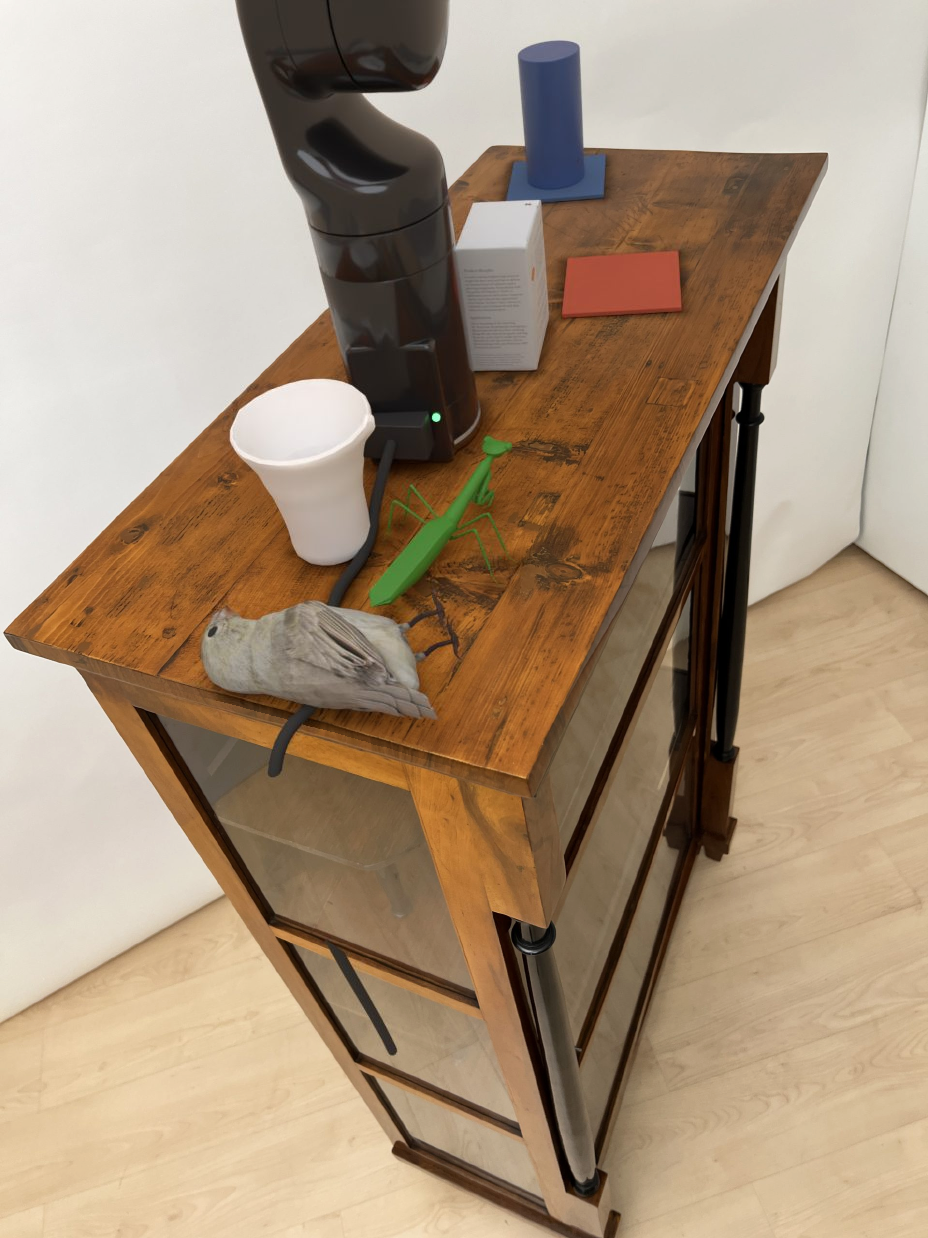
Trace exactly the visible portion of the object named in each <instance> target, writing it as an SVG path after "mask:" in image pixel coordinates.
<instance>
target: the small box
mask: <svg viewBox="0 0 928 1238" xmlns="http://www.w3.org/2000/svg"><path fill="white" fill-rule="evenodd" d="M470 206H471V207H470V209H469V212H468V214H467V217H466V220H465V222H464V223H463V226H462V229H461V231H460V232H461V233H460V235H459V237H458V240H457V242H456V251H457V258H458V265H459V272H460V279H461V286H462V293H463V300H464V307H465V314H466V321H467V328H468V335H469V342H470V349H471V356H472V363H473V370H474V372H487V371H488V372H491V371H536V370H538V366H539V363H540V357H541V353H542V349H543V345H544V340H545V336H546V331H547V328H548V324H549V320H550V310H549V309H550V308H549V294H548V293H549V291H548V278H547V264H546V263H547V262H546V250H545V239H544V224H543V211H542V209H543V208H542V203H541V201H540V200H524V201H506V200H505V201H482V202H481V201H479V202H472V204H471V205H470Z"/></svg>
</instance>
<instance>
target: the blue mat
mask: <svg viewBox="0 0 928 1238" xmlns="http://www.w3.org/2000/svg"><path fill="white" fill-rule="evenodd" d="M606 165H607V154H606V153H603V154H591V155H584V170H585V175H584V177H583V179H582V180H581V181H579V182H578V183H576V184H574V185H571V186H568V187H565V188H559V189H540V188H536V187H533V186H532V185H530V184H529V182H528V178H527V166H526V160H522V161H514V162H513V166H512V172H511V174H510V180H509V184H508V189H507V194H506V199H505V201H524V200H540V201H541V204H542V203H543V204H544V203H556V202H567V201H582V200H593V199H594V200H595V199H604V198H605V184H606V183H605V182H606V180H605V179H606V167H607V166H606Z"/></svg>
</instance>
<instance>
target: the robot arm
mask: <svg viewBox="0 0 928 1238" xmlns="http://www.w3.org/2000/svg"><path fill="white" fill-rule="evenodd" d="M450 2H451V1H450V0H234V4H235V9H236V10H235V11H236V15H237V19H238V23H239V28H240V32H241V36H242V40H243V44H244V47H245V51H246V54H247V58H248V61H249V64H250V68H251V70H252V73H253V77H254V80H255V83H256V86H257V89H258V93H259V96H260V98H261V101H262V104H263V108H264V111H265V114H266V117H267V120H268V124H269V127H270V130H271V133H272V136H273V140H274V143H275V146H276V150H277V152H278V156H279V159H280V163H281V166H282V168H283V170H284V174H285V176H286V177H287V180H288V182H289V183H290V185H291V186H292V189H293V190H294V191H295V193H296V194H297V195H298V197H299V199H300V201H301V204H302V207H303V210H304V211H303V212H304V215H305V218H306V222H307V225H308V230H309V234H310V238H311V241H312V245H313V249H314V253H315V256H316V261H317V266H318V269H319V273H320V277H321V281H322V286H323V289H324V293H325V297H326V300H327V304H328V308H329V312H330V316H331V320H332V324H333V328H334V331H335V336H336V340H337V344H338V348H339V350H340V351H339V353H340V355H341V359H342V364H343V367H344V371H345V372H344V373H345V375H346V379H347V384H349V385H352V386H353V387H355V388H356V389H357V390H358V391H360V392H361V393H362V394H364V395H365V396H366V398H367V401H368V403H369V405H370V408H371V414H372V415H373V417H374V422H375V429H374V431H373V432H372V433H371V435H370V436H369V437H368V439H367V440H366V442H365V445H364V452H363V456H364V459H365V458H366V459H367V458H368V459H370V461H371V463H372V464H379V465H378V468H377V472H376V475H375V479H374V482H373V487H372V489H371V490H372V491H371V495H370V500H369V506H368V511H369V520H370V528H369V532H368V536H367V539H366V541H365V543H364V544H363V546H362V547H361V548H360V549H359V551H358V553H357V554H356V556H355V557H354V558H352V560H351V562H350V563H349V565H348V566H347V567H346V569H345V570H344V571H343V572H342V574H341V575H340V577H339V578H338V580H337V581H336V582H335V584H334V585H333V588H332V590H331V592H330V594H329V597H328V599H327V603H326V605H327V606H332V607H337V608H340V605H341V603H342V600H343V597H344V595H345V593H346V591H347V589H348V588H349V586H350V585H351V583H352V581H353V580H354V579H355V577H356V576H357V574H358V573H359V572H360V571H361V569H362V568H363V566H364V565H365V563H366V562H367V560H368V559H369V556H370V555H371V553H372V550H373V547H374V545H375V542H376V539H377V536H378V532H379V525H380V517H381V509H382V502H383V497H384V493H385V489H386V485H387V482H388V477H389V475H390V470H391V467H392V464H399V463H402V464H403V463H404V464H405V463H409V464H410V463H412V464H413V463H432V462H433V463H435V462H437V463H438V462H439V463H440V462H452V461H453V460H454V458H455V454H456V452H457V451H459V450H461V449H462V448H463V447H464V446H466V445H467V444H468V443H469V442H470V441H472V440H473V438H474V437H475V436H476V435H477V433H478V432H479V430H480V428H481V425H482V420H483V416H482V409H481V403H480V401H479V399H478V391H477V384H476V377H475V371H474V370H473V363H472V356H471V349H470V342H469V335H468V328H467V321H466V314H465V307H464V300H463V293H462V286H461V279H460V272H459V265H458V258H457V251H456V245H457V243H456V237H455V236H456V235H455V230H454V222H453V215H452V207H451V202H450V194H449V187H448V180H447V173H446V167H445V162H444V157H443V155H442V152H441V150H440V149H439V148H438V146H437V144H435V142H433V140H432V139H430V138H429V137H427V136H426V135H425V134H422V133H421V132H418V131H417V130H414V129H412V128H410V127H409V126H407V125H403V124H401V123H400V122H398V121H396V120H394V119H393V118H391V117H389V116H388V115H386V114H384V113H383V112H382V111H381V110H379V109H378V108H377V107H376V106H375V105H374V104H373V103H372V102H370V101H369V99H367V97H365V95H364V94H401V93H402V94H403V93H413V92H418V91H422V90H423V89H425V88H427V87H428V86H430V85H431V84H432V83H433V81H434V80H435V78H436V77H437V75H438V73H439V72H440V69H441V67H442V64H443V61H444V57H445V54H446V53H445V52H446V49H447V44H448V36H449V25H450V4H451V3H450ZM319 709H320V707H314V706H311V705H307V704H301V706H300V707H299V708H298V709H297V710H296V711H294V713H293V714H292V715H291V716H290V717H289V719H287V721H286V722H284V725H283V726H282V728H281V730H280V731H279V732H278V734H277V736H276V738H275V740H274V743H273V746H272V749H271V752H270V755H269V761H268V768H267V775H268V777H269V778H276V777H278V776H279V775H280V774H281V773H282V771H283V766H284V760H285V755H286V753H287V749H288V747H289V745H290V743H291V740H292V739H293V737H294V735H295V734H296V733H297V731H298V730H299V729H300V728H301V727H302V726H303V725H304V723H305V722H307V720H308V719H309V718H311V717H312V716H314V714H315V713H316V712H317V711H318V710H319ZM324 942H325V944H326V945H327V948H328V949H329V951H330V954H331V955H332V957H333V959H334V960H335V962H336V964H337V966H338V968H339V969H340V971H341V973H342V974H343V976H344V978H345V979H346V982H347V983H348V984H349V987H351V989H352V991H353V993H354V994H355V996H356V998H357V1000H358V1001H359V1003H360V1004H361V1006H362V1008H363V1009H364V1011H365V1013H366V1015H367V1017H368V1018H369V1020H370V1021H371V1023H372V1025H373V1027H374V1029H375V1031H376V1032H377V1034H378V1036H379V1038H380V1040H381V1041H382V1044H383V1045H384V1048H385V1049H386V1053H388V1055H389V1056H390V1057H391V1056H392V1057H393V1056H396V1055H397V1053H398V1048H397V1045H396V1044H395V1042H394V1041H395V1040H394V1039H393V1038H392V1035H391V1033H390V1031H389V1029H388V1027H387V1025H386V1024H385V1022H384V1020H383V1017H382V1016H381V1014H380V1013H379V1011H378V1009H377V1007H376V1005H375V1003H374V1001H373V1000H372V998H371V997H370V995H369V992H368V991H367V989H366V988H365V986H364V984H363V983H362V981H361V979H360V977H359V975H358V974H357V972H356V970H355V968H354V967H353V965H352V963H351V961H350V960H349V957H348V955H347V954H346V952H345V951H343V950H342V949H340V948H339V947H338V946H336V945H335V944H333V943H332V942H330V941H328V940H327V939H325V938H324Z"/></svg>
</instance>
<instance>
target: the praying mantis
mask: <svg viewBox="0 0 928 1238" xmlns="http://www.w3.org/2000/svg"><path fill="white" fill-rule="evenodd" d="M482 443H483V444H482V445H481V449H482V451H483V453H484V454H485V455H486V456H485V458H484V459H483V460H481V461H480V462H479V463H478V465H477V466H476V468H475V469H474V471H473V472H472V474H471V476H470V477H469V479H468V480H467V481H466V483H465V485H464V486H463V488H462V489H461V491H460V493H459V494H458V495H457V496H456V498H455V499H454V500H453V501H452V502H451V504H450V505H449V507H448V508H447V509H446V511H445V512H444V513H443V515H442V516H439V515H437V513H436V512H435V511H434V510H433V508H432V507H431V506H430V505H429V504H428V502H427V501H426V500H425V499H424V497H423V496H422V495H421V493H420V492H418V490H417V489H416V487H415V486H414V485H413V484H410V485H409V486H408V490H407V497H406V502H405V505H404V504H403V503H402V502H400V501H398V500H396V499H394V500H393V501H392V502H391V505H390V509H389V510H390V512H389V517H388V523H387V530H386V531H387V533H386V537H384V538H382V539H381V540H385V539H386V538H388V537H389V532H390V531H391V525H392V519H393V515H394V514H393V513H394V509H395V504H396V505H398V506H400V507H401V508H402V509H404V521H400V524H402V523H405V522H406V519H407V515H408V513H409V514H410V515H412V517H414V518H415V519H417V520H418V521H420V522H421V523H422V524H423V525H424V526H422V528H421V529H420V530H419V531H418V532H417V534H416V535H415V536H414V537H413V538H412V539H411V541H410V542H409V543H408V544H407V545H406V546H405V547H404V549H403V550H402V551H401V553H400V554H399V555H397V557H396V558H395V559H394V561H393V562H392V563H391V564H390V566H388V568H387V569H386V570H385V572H383V573H382V575H381V576H380V577H379V579H378V580H377V581H376V582H375V584H373V586H372V587H371V588H370V589H369V591H368V597H369V598H368V599H369V603H370V607H371V608H376V607H384V606H390V605H392V604H393V603H395V602H396V601H397V600H398V599H399V598H400V597H401V596H403V595H404V594H405V593H406V592H407V591H408V590H409V589H410V588H412V586H414V585H415V584H416V583H417V582H419V580H420V579H421V578H422V577H423V576H424V575H425V573H426V572H427V571H428V570H429V568H430V567H431V565H433V563H434V562H435V561H436V559H437V558H438V557H439V555H440V554H441V552H442V551H443V550H444V548H445V546H446V545H447V544H448V542H449V541H455V540H457V539H458V538H461V537H464V536H465V535H468V534H470V533H473V534H474V535H475V537H476V540H477V543H478V545H479V548H480V550H481V553H482V556H483V558H484V561H485V564H486V567H487V569H488V571H489V573H490V575H491V578H492V579H493V581H494V582H495V583H496V584H497V585H498V584H499V583H498V582H497V580H495V578H494V576H493V574H492V569H491V564H490V562H489V560H488V557H487V554H486V551H485V549H484V545H483V543H482V540H481V538H480V535H479V532H478V529H477V528H470V529H469V530H466V531H464V532H461V533H458V534H456V533H457V532H459V531H461V530H463V529H465V528H466V527H468V526H469V525H472V524H474V523H475V522H477V521H479V520H480V519H482V518H484V517H486V516H487V517H488V519H489V521H490V523H491V525H492V528H493V530H494V533H495V534H496V536H497V538H498V540H499V542H500V544H501V547H502V549H503V551H504V552H505V553H506V556H507V558H508V559H510V560H512V562H515V560H514V559H513V558H511V557H510V556H509V554H508V552H507V547H506V545H505V543H504V541H503V538H502V536H501V534H500V532H499V530H498V527H497V525H496V524H495V522H494V519H493V517H492V515H491V513H490V512H484V513H481V514H480V515H478V516H476V517H474V518H473V519H471V520H470V521H468V522H466V523H464V524H462V525H461V526H459V527H458V525H459V524H460V521H462V518H463V516H464V515H465V513H466V510H467V509H468V506H469V504H470V502H471V503H472V504H476V505H477V506H478V507H481V506H484V505H485V504H486V503H487V502H488V505H486V506H484V507H483V509H486V508H489V507H490V506H491V505H492V504H493V502H494V497H495V493H496V492H495V491H494V490H493V489H490V488H488V487H489V485H490V482H491V479H492V474H493V473H492V471H491V466H492V464H493V461H494V460H496V459H499V458H501V457H502V456H504V455H505V453H507V452H510V451H512V450H513V444H512V443H511V442H510V441H502V440H499V439H495V438H493V437H492V436H490V435H486V436H484V437H483V440H482ZM412 491H413V492H414V494H415V495H416V496H417V497H418V498H419V500H420V501H421V502H422V503H423V504H424V505H425V507H426V508H427V509H428V510H429V511H430V513H431V514H432V515H433V516H434V518H433V519H431V520H429V521H428V522H426V521H425V520H424V519H422V517H420V516H418V515H417V514H416V513H415V512H414V511H412V510H411V509H410V508H409V505H410V499H411V493H412ZM455 534H456V535H455Z"/></svg>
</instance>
